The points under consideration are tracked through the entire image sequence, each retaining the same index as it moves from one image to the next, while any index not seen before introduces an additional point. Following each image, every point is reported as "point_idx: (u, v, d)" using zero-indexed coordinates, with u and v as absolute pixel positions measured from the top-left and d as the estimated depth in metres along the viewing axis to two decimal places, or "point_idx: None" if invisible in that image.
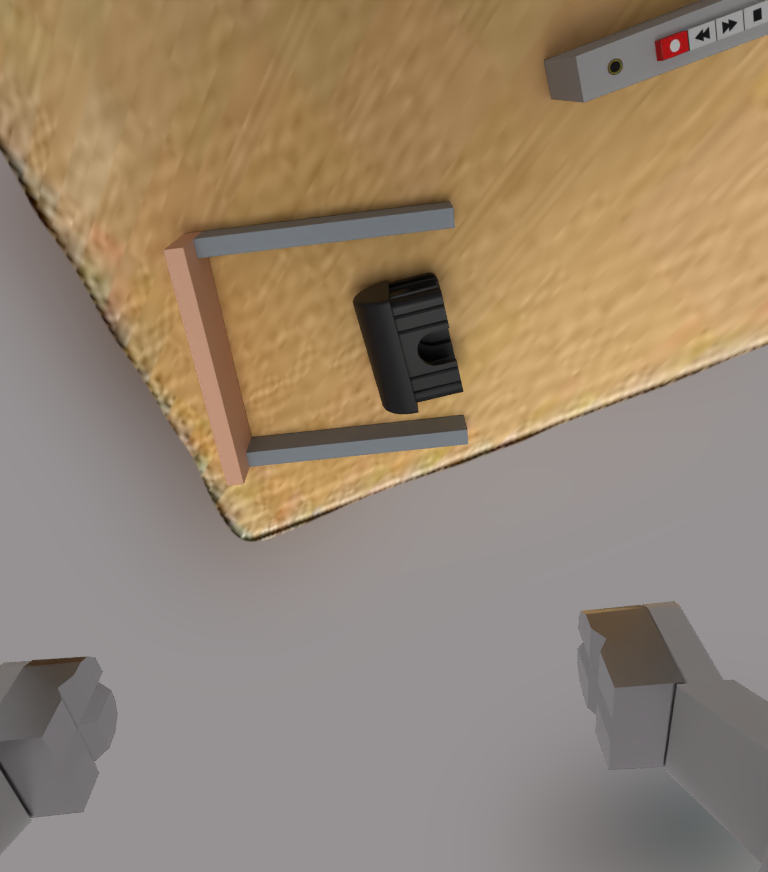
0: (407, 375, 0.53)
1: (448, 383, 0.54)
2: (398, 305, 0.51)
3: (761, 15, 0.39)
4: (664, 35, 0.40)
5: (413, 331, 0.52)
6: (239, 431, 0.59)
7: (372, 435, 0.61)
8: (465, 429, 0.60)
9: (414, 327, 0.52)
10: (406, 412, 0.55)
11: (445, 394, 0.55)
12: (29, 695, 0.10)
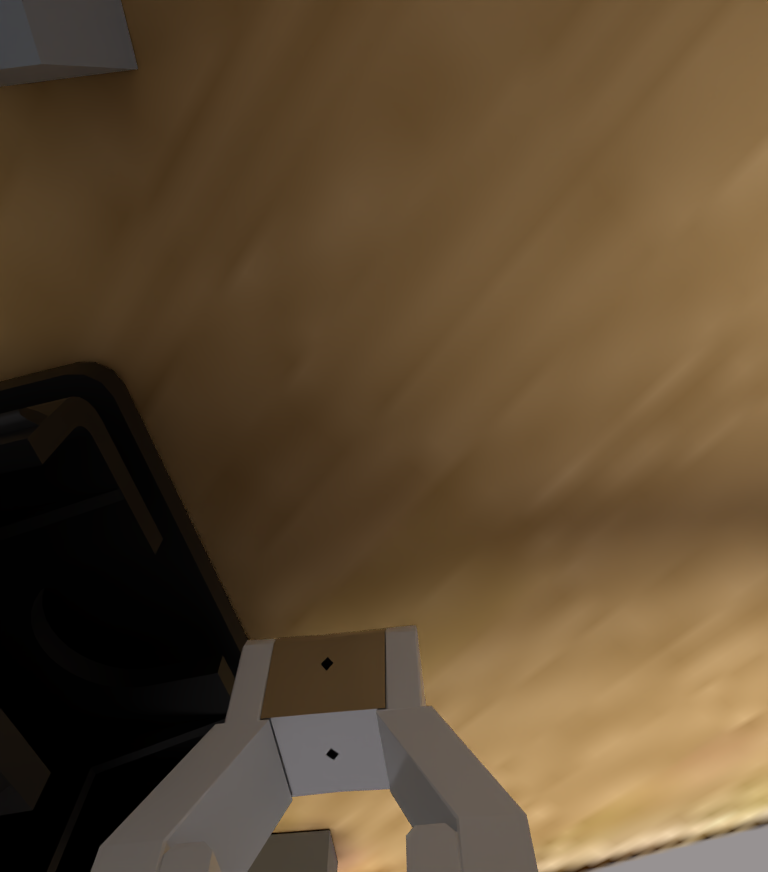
0: None
1: None
2: None
3: None
4: None
5: None
6: None
7: None
8: None
9: None
10: None
11: None
12: (294, 671, 0.10)
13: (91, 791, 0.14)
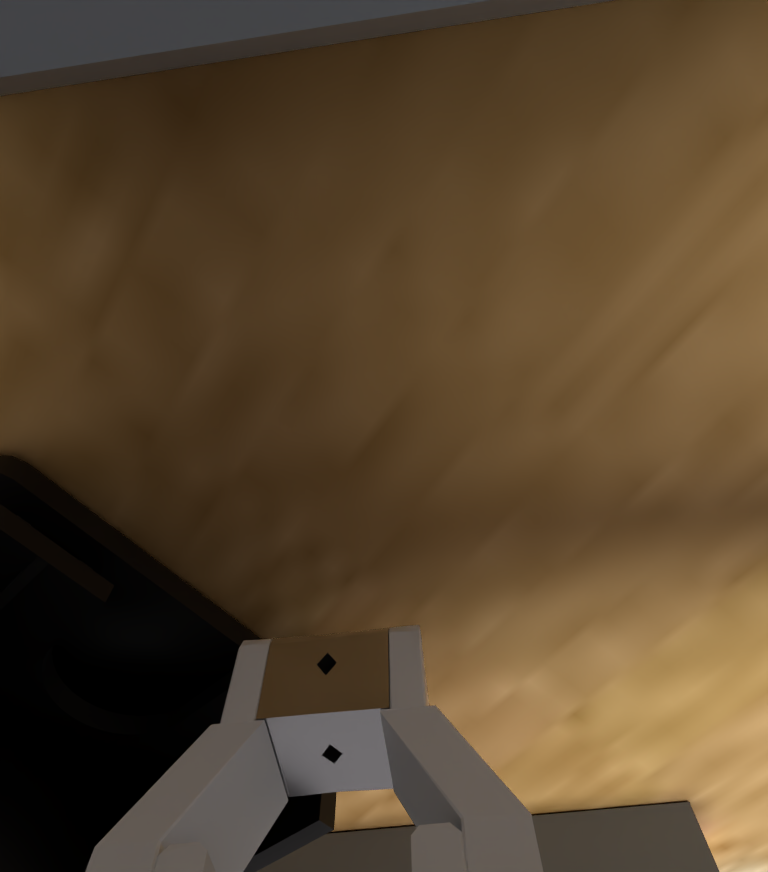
0: None
1: None
2: None
3: None
4: None
5: None
6: None
7: None
8: None
9: None
10: None
11: None
12: (289, 672, 0.10)
13: None
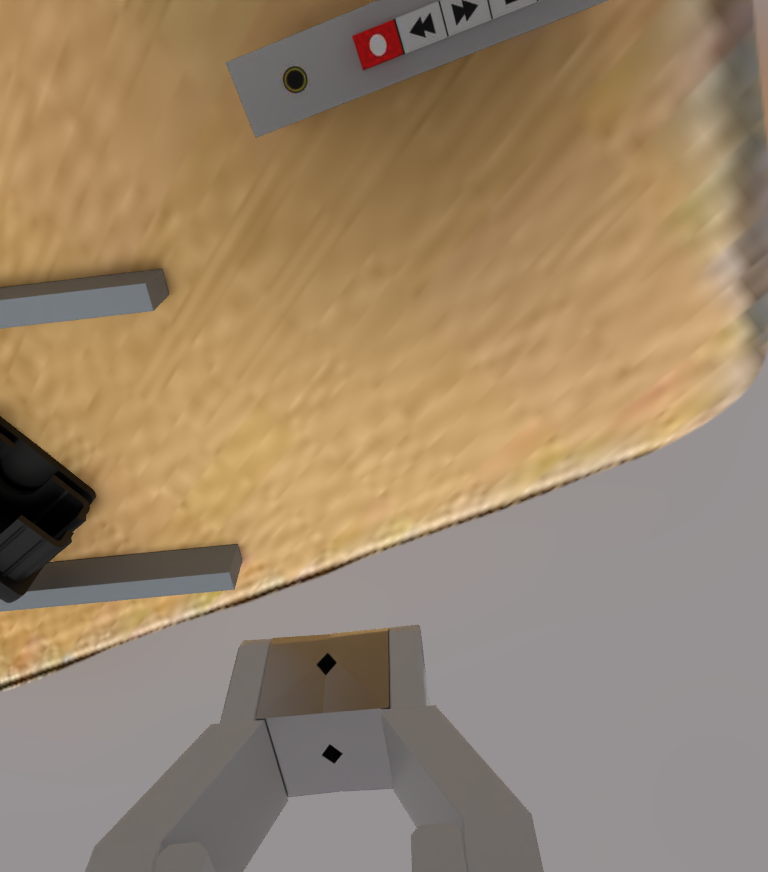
0: None
1: (33, 547, 0.39)
2: None
3: None
4: (368, 27, 0.24)
5: None
6: None
7: (106, 576, 0.45)
8: (227, 571, 0.44)
9: None
10: (10, 600, 0.40)
11: (42, 559, 0.39)
12: (289, 672, 0.10)
13: None
